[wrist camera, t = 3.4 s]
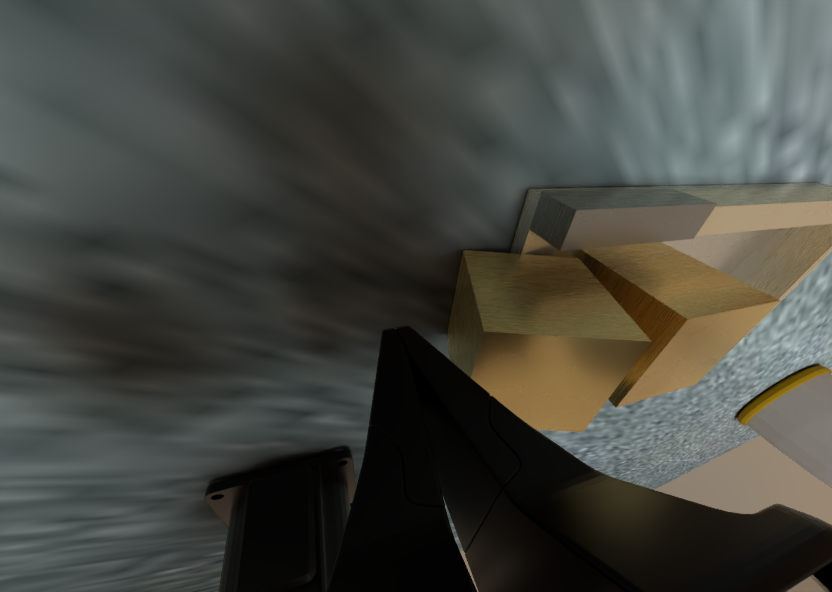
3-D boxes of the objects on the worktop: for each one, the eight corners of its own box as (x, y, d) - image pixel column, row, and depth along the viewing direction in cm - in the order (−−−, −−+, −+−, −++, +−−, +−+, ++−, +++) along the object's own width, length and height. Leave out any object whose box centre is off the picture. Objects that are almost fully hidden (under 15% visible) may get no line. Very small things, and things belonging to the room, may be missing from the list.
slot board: (478, 360, 14) (500, 398, 13) (529, 185, 9) (576, 210, 8) (705, 315, 19) (743, 338, 17) (820, 180, 14) (888, 195, 12)
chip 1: (540, 340, 13) (582, 431, 9) (447, 335, 12) (456, 425, 9) (578, 258, 10) (652, 341, 7) (463, 250, 10) (484, 331, 7)
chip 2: (612, 316, 14) (696, 384, 11) (543, 329, 13) (615, 407, 10) (659, 241, 12) (780, 300, 9) (580, 248, 11) (687, 319, 8)
